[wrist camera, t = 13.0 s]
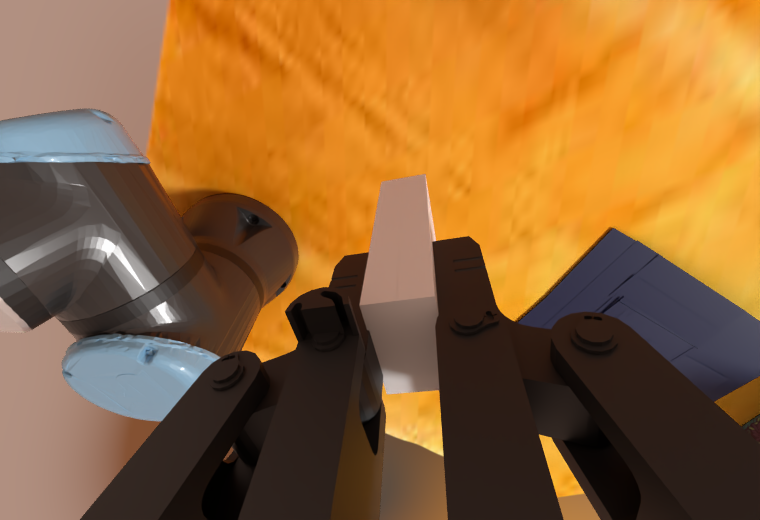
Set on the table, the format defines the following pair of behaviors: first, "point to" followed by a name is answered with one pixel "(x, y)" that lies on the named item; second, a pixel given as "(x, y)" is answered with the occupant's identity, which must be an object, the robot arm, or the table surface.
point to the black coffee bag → (753, 428)
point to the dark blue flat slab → (661, 312)
